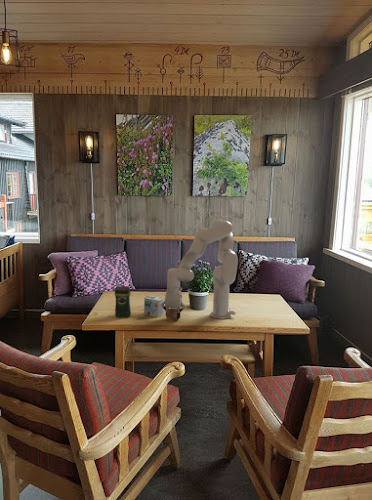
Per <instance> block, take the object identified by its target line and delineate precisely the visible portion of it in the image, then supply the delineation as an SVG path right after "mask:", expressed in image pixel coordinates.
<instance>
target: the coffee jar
mask: <svg viewBox="0 0 372 500" xmlns="http://www.w3.org/2000/svg"><path fill="white" fill-rule="evenodd" d="M114 297H115V309H114V316H115V318H121V319H122V318H130V317H131V315H132V314H131V313H132V312H131V311H132V310H131V302H130V300H131V299H130V297H131V287H130V286H121V285H120V286H117V285H116V286H115V289H114Z"/></svg>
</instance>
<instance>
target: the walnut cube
mask: <svg viewBox="0 0 372 500" xmlns="http://www.w3.org/2000/svg"><path fill="white" fill-rule="evenodd" d="M177 313H178V311H177V308H169V309H168V310H167V316H166V317H167V318H166V321H167V322H176V323H177V321H179V319H177Z"/></svg>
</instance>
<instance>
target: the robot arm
mask: <svg viewBox="0 0 372 500" xmlns="http://www.w3.org/2000/svg"><path fill="white" fill-rule="evenodd" d="M233 230H234V229H233V225H232V223H231V222H230V221H228V220H224V219H219V218H218V219H216V220H214V221H213V224H212V227H209V228H207V227H200V228H199V229H198V230H197V231H196V233H195V237H194V238H193V241H192V243H191V245H190V247H189V249H188V250H187V252H186V253H185V255H183V257H182V259H181V260H180V263H179V266H178V267H177V268H176V267H175V268H173V267H170V268H169V269H167V279H166V280H167V285H166V288H167V290H166V291H165V295H164V302H163V303H162V304H161V306H162V307H163V309H164V311H165V317H166V319H167V310H168V309H169V308H175V309H177V311H178V313H177V319H178V320H179V319H181V312H182V311H184V310H185V309H186V305H185V304H184V303H183V294H182V291H183V288H182V287H181V282H191V281H192V280H193V279H194V278H195V273H194V271H193V270H191V268H192V266H193V264H194V262H195V261H196V260H197V259H199V258H201V257H202V256H203V255H204V252H205V250H206V249H207V246H208V244H212V243H216V242H218V241H219V244H218V249H217V250H218V251H217V261H218V262H219V263H221V264H222V265H218V266H216V267H215V268H214V269H213V271H212V272H213V273H212V277H213V298H212V300H213V301H212V302H213V303H212V304H213V305H212V311H211V312H210V313H209V314H210V315H209V316H210V317H212V318H214V319H221V320H222V319H223V320H224V319H225V320H226V319H229V318H231V317H232V315H234V316H235V315H236V312H235V311H234V310H231V309H230V307H229V305H230V304H229V303H230V301H229V300H230V285H231V284H233V283H234V282H235V281H236V276H237V271H238V264H239V259H238V254H237V253H236V252H235V251H234V241H235V240H234V239H235V238H234V234H233ZM181 307H182V308H181Z"/></svg>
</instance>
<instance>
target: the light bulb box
mask: <svg viewBox="0 0 372 500" xmlns="http://www.w3.org/2000/svg"><path fill="white" fill-rule="evenodd" d="M143 300H144V301H143V302H144V305H143V306H144V307H143V310H144V311H143V314H144V315H146V316H151V317H156V318H160V317H161V316H163V315H165V313H164V311H165V310H164V309H163V307H162V306H161V304H162V303H163V302H164V301H165V297H160V296H154V295H148V296H147V297H144V299H143Z"/></svg>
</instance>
